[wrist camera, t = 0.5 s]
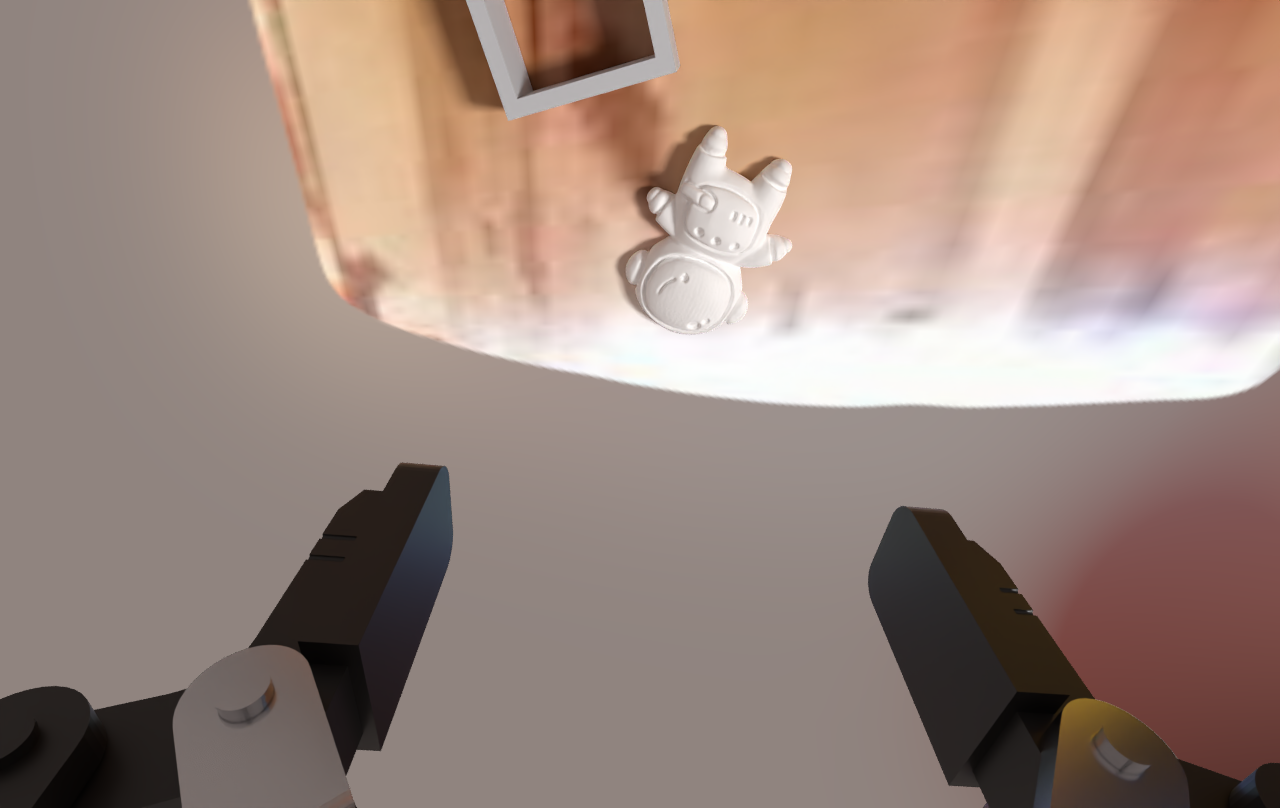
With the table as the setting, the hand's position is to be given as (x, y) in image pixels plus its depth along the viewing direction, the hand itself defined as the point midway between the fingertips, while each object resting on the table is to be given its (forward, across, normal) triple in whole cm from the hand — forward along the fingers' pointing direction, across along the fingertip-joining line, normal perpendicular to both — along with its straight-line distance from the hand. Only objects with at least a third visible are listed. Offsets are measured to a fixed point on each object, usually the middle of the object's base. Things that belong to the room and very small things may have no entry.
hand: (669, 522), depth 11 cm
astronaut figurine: (+27, -4, +2) cm, 28 cm away
